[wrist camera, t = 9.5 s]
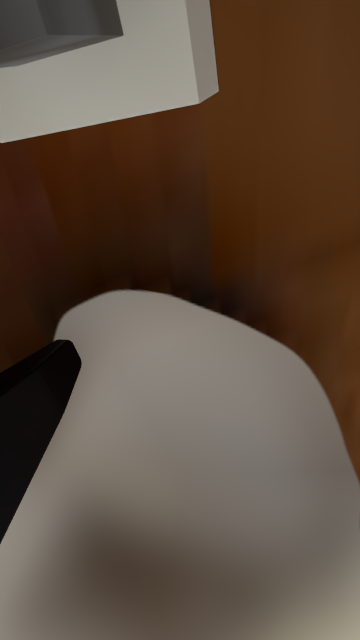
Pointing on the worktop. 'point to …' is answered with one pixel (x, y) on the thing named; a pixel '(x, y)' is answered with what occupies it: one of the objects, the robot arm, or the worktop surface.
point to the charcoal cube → (53, 27)
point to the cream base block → (115, 72)
